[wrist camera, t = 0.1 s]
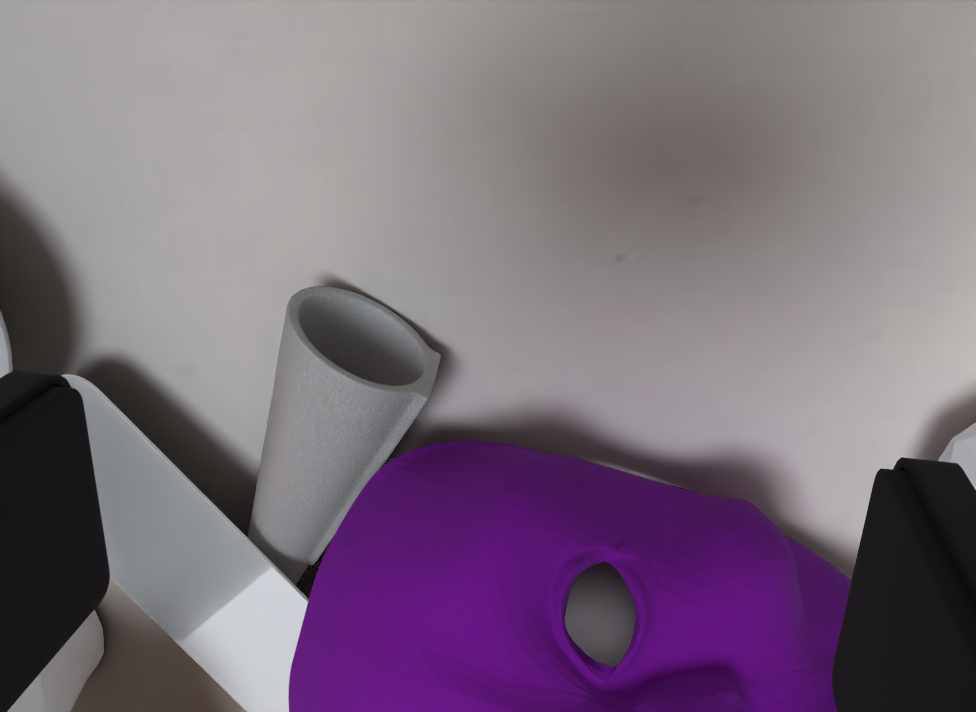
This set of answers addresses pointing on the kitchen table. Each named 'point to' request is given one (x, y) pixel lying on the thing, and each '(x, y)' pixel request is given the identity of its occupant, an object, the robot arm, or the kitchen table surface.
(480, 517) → the mask
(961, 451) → the geometric ball
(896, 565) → the robot arm
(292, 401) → the grey hollow tube
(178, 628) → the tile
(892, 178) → the kitchen table surface
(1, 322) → the dish
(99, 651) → the cup
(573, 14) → the kitchen table surface
